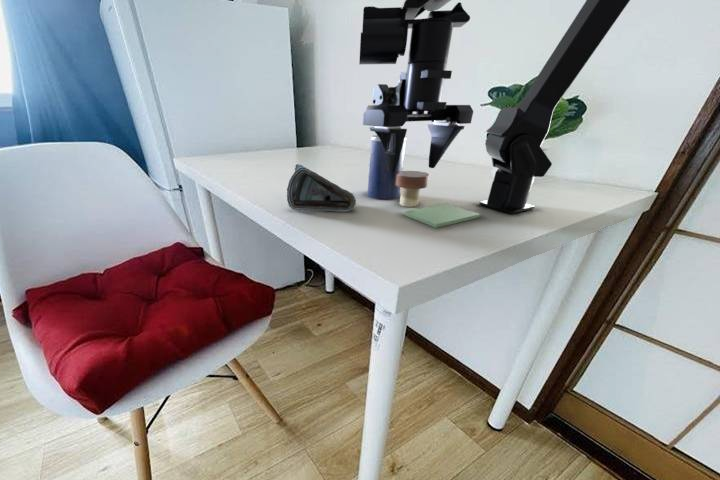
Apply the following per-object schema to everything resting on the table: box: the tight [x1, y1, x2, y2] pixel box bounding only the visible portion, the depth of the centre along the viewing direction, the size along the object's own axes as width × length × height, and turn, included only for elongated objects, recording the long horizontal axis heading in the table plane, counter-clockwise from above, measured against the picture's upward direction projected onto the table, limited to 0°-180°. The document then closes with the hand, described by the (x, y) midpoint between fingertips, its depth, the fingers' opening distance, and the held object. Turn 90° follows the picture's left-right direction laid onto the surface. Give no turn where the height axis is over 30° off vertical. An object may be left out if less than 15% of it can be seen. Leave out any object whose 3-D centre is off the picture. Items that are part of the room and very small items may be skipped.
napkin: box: [403, 202, 481, 229], centre depth 50 cm, size 10×7×1 cm
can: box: [367, 134, 408, 200], centre depth 59 cm, size 6×6×11 cm
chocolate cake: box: [286, 163, 357, 213], centre depth 56 cm, size 10×7×12 cm
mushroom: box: [395, 170, 430, 208], centre depth 55 cm, size 6×6×6 cm
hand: (412, 170), depth 53 cm, fingers open, 9 cm apart
